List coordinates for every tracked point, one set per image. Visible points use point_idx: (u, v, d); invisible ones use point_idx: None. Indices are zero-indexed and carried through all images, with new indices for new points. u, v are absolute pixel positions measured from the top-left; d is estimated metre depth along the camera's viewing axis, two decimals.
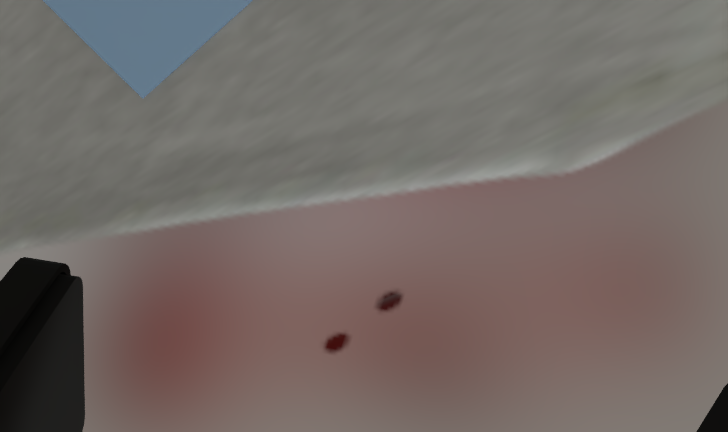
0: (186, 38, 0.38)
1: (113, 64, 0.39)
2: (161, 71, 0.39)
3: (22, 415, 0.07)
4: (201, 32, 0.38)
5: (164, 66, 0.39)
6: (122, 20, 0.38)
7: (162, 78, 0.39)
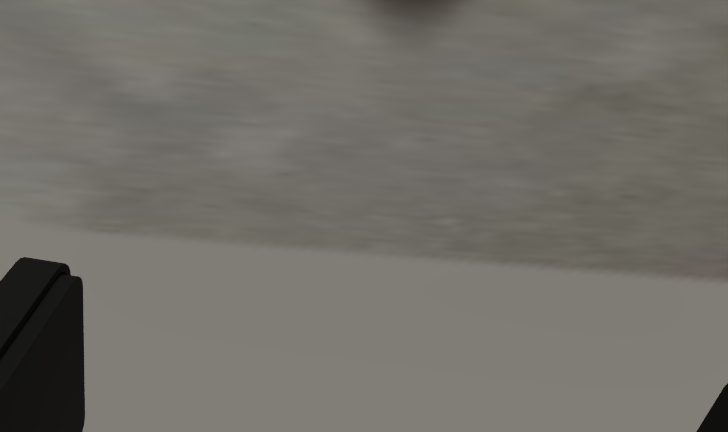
0: None
1: None
2: None
3: (22, 415, 0.07)
4: None
5: None
6: None
7: None
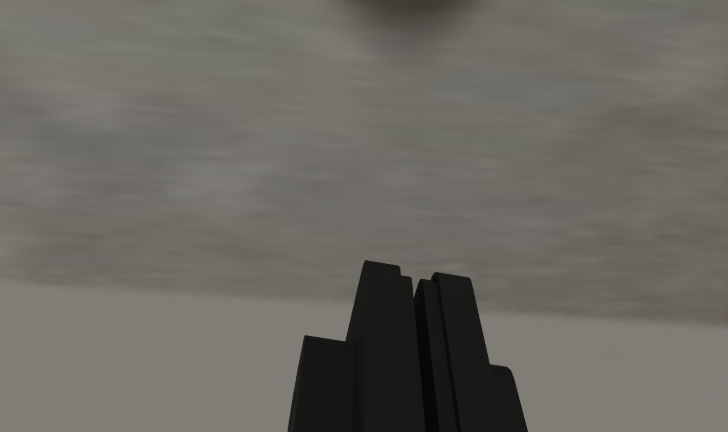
0: None
1: None
2: None
3: None
4: None
5: None
6: None
7: None
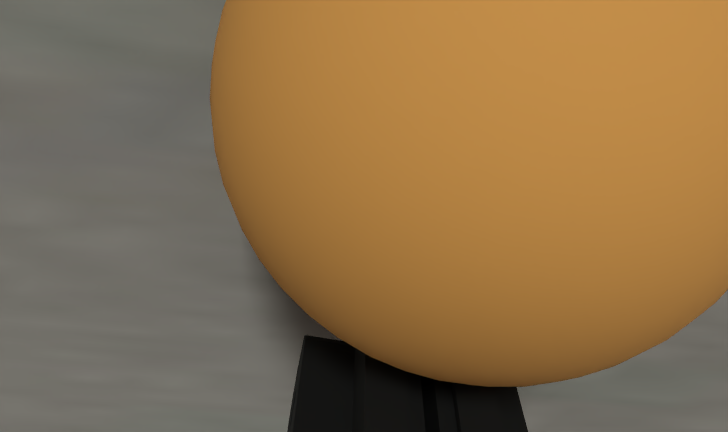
0: None
1: None
2: None
3: None
4: None
5: None
6: None
7: None
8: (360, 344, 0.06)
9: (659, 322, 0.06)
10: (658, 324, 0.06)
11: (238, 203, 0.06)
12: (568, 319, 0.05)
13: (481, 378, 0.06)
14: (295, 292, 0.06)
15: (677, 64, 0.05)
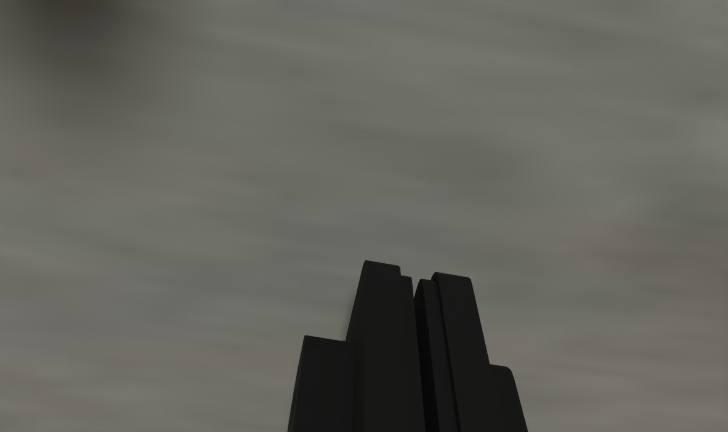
0: None
1: None
2: None
3: None
4: None
5: None
6: None
7: None
8: None
9: None
10: None
11: None
12: None
13: None
14: None
15: None
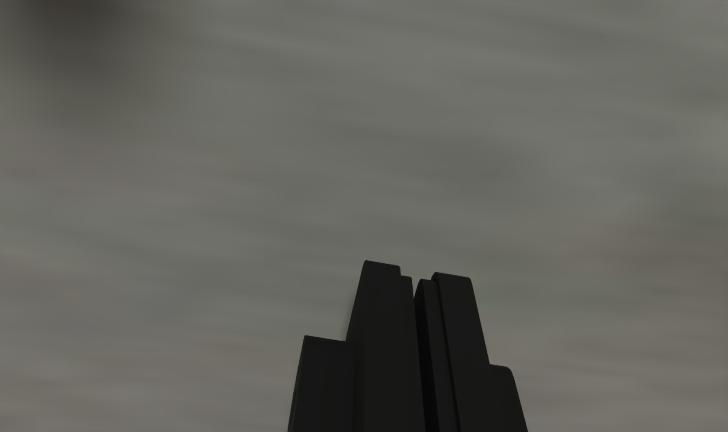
0: None
1: None
2: None
3: None
4: None
5: None
6: None
7: None
8: None
9: None
10: None
11: None
12: None
13: None
14: None
15: None
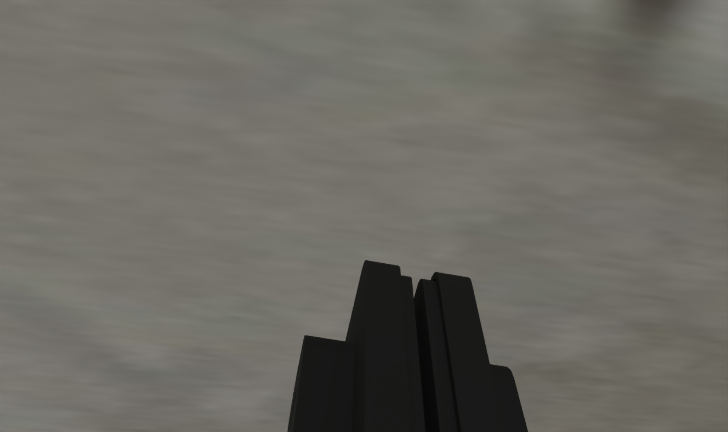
0: None
1: None
2: None
3: None
4: None
5: None
6: None
7: None
8: None
9: None
10: None
11: None
12: None
13: None
14: None
15: None
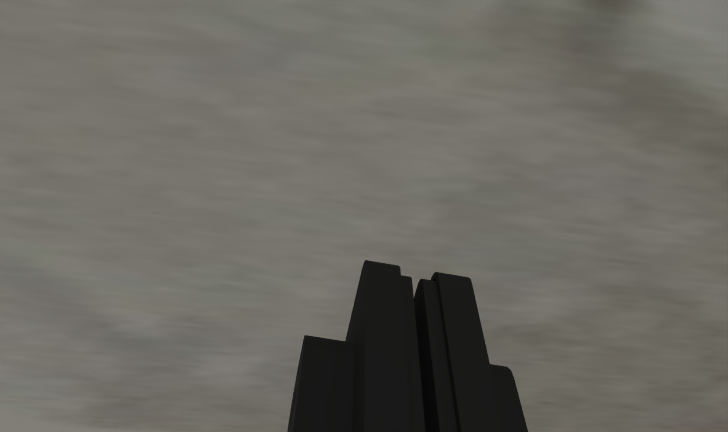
0: None
1: None
2: None
3: None
4: None
5: None
6: None
7: None
8: None
9: None
10: None
11: None
12: None
13: None
14: None
15: None
